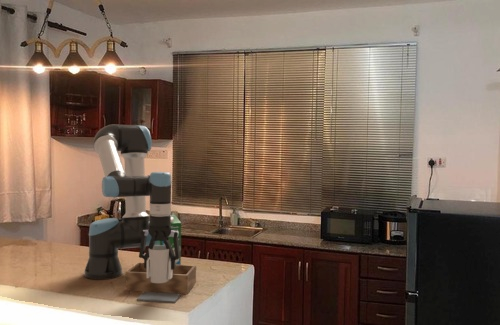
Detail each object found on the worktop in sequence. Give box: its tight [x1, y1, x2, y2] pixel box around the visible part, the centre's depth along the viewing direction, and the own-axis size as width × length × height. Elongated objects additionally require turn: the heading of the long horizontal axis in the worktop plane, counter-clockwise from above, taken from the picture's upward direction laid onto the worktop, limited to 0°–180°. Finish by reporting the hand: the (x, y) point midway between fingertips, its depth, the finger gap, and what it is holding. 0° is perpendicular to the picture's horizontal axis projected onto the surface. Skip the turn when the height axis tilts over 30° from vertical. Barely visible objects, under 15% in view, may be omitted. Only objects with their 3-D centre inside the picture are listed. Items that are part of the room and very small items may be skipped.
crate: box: [125, 262, 197, 295], centre depth 174 cm, size 24×14×7 cm, turn 84°
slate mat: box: [136, 291, 182, 304], centre depth 161 cm, size 14×8×1 cm, turn 84°
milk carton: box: [154, 214, 182, 265], centre depth 191 cm, size 9×9×25 cm
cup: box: [149, 245, 170, 283], centre depth 160 cm, size 8×8×12 cm
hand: (159, 277), depth 160 cm, fingers closed on cup, 7 cm apart
